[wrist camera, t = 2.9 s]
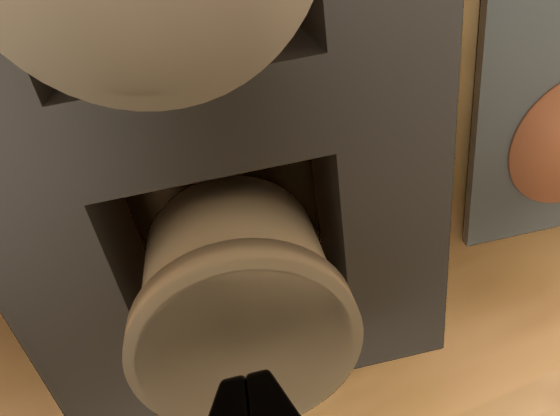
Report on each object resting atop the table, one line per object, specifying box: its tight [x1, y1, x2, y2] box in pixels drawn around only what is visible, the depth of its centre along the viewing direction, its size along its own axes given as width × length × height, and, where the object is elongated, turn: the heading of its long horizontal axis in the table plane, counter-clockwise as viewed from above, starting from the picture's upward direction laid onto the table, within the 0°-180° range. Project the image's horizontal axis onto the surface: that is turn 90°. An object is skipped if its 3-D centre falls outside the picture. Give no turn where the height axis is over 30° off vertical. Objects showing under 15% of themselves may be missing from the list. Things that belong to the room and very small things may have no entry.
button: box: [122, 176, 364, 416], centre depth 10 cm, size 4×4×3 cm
